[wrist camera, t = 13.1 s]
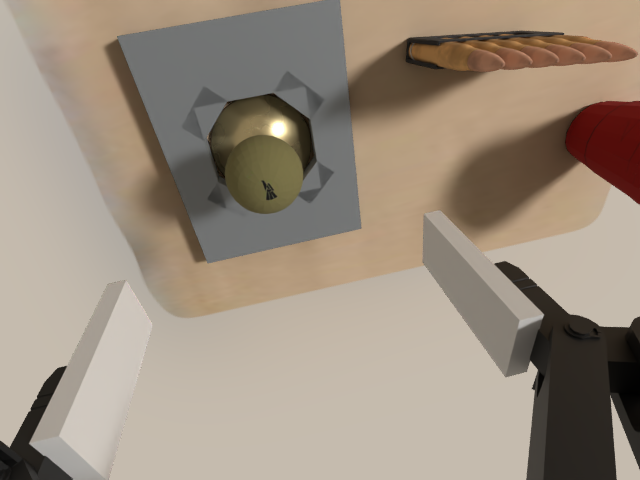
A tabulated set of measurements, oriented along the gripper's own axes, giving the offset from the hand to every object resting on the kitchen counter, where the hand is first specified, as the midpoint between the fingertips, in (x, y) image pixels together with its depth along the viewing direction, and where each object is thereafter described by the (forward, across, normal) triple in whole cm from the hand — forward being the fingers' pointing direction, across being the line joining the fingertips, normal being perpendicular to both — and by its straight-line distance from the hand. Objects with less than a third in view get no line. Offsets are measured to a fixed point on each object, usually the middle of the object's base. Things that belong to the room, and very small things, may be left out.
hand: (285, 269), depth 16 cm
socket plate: (+19, 0, 0) cm, 19 cm away
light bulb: (+19, 0, 0) cm, 19 cm away
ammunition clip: (+20, +19, +4) cm, 28 cm away
